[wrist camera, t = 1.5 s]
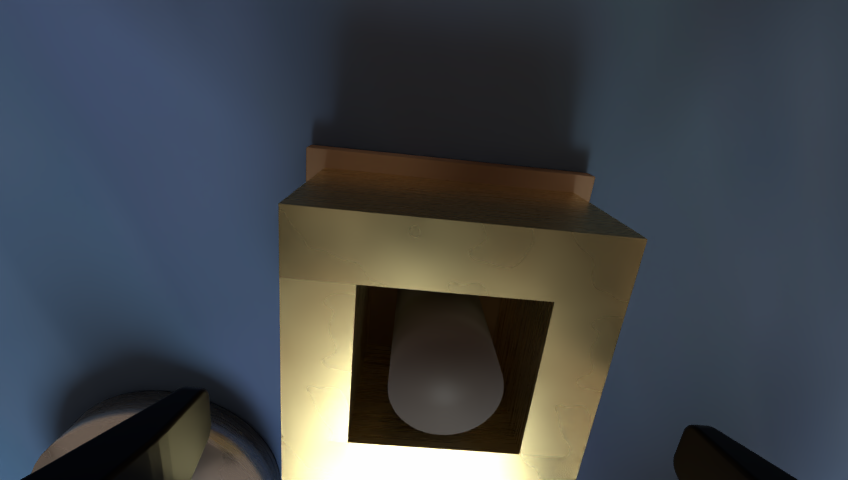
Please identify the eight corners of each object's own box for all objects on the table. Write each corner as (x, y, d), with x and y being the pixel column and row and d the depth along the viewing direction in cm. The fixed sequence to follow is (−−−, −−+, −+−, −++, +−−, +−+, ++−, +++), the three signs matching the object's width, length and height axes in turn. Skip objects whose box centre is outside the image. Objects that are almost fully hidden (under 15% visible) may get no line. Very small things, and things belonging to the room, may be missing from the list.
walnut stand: (587, 173, 12) (693, 222, 7) (534, 396, 15) (589, 537, 10) (311, 144, 12) (241, 178, 7) (308, 378, 14) (255, 517, 10)
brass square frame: (573, 192, 12) (647, 239, 8) (527, 394, 14) (568, 505, 10) (324, 167, 11) (278, 203, 8) (319, 378, 14) (281, 487, 10)
